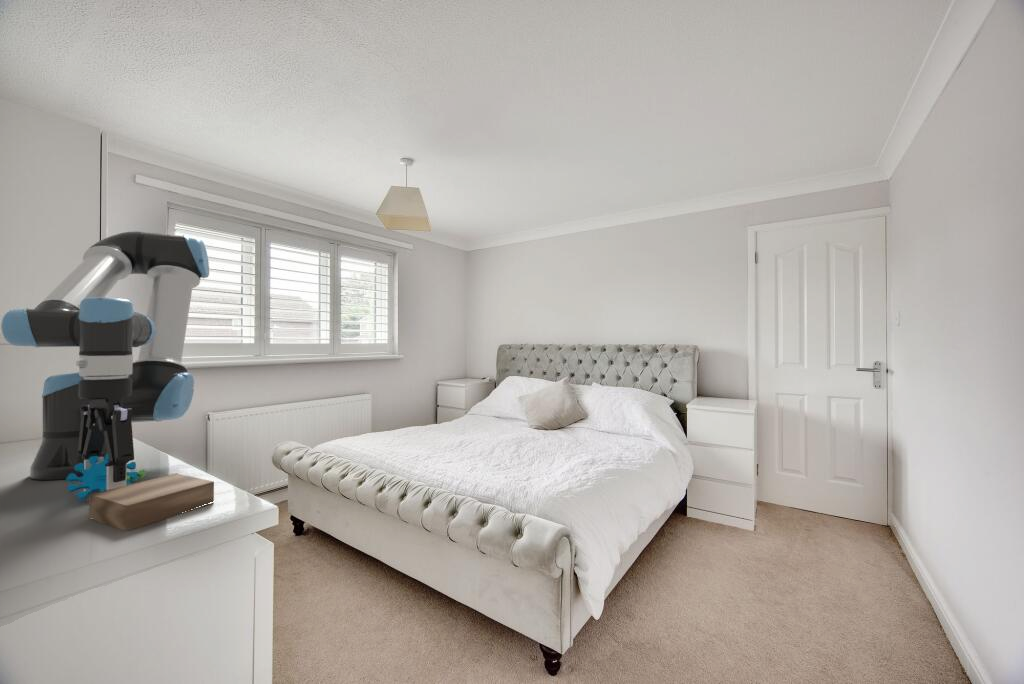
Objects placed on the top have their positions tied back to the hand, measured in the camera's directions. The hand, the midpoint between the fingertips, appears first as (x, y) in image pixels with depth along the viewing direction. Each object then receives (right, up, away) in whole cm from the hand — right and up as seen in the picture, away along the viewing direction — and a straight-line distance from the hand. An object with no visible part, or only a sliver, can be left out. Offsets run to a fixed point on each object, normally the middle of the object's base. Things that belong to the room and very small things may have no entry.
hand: (104, 494), depth 82 cm
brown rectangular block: (+16, 0, -7) cm, 17 cm away
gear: (0, 0, 0) cm, 1 cm away
